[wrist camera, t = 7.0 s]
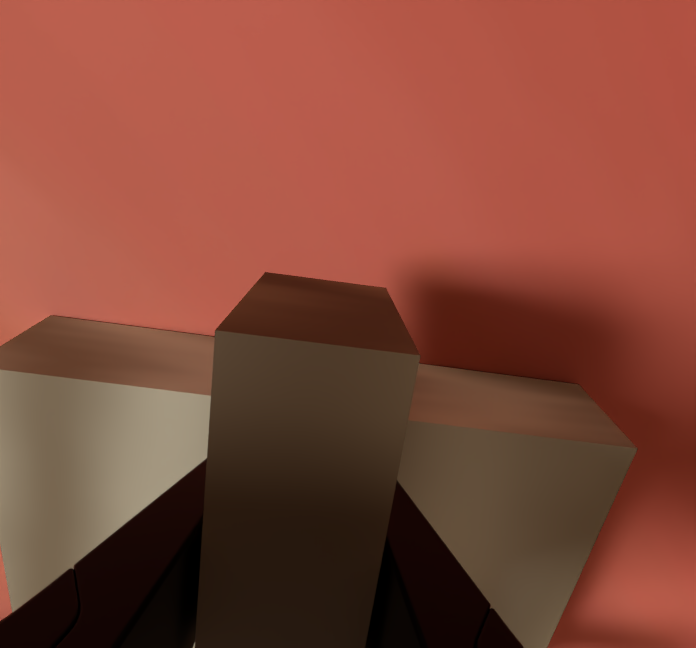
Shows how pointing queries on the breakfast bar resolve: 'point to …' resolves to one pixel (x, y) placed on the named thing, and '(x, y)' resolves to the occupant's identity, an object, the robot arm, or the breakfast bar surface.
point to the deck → (192, 443)
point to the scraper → (301, 463)
